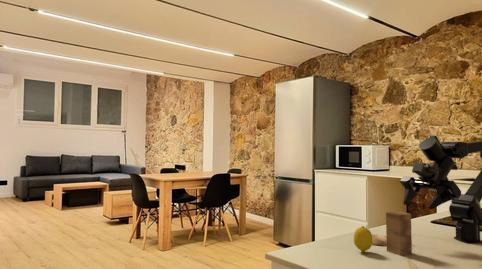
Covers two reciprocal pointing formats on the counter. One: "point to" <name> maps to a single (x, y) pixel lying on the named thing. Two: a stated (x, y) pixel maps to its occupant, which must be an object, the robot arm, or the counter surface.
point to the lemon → (363, 239)
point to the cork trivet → (379, 240)
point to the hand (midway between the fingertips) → (416, 206)
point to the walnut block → (398, 233)
